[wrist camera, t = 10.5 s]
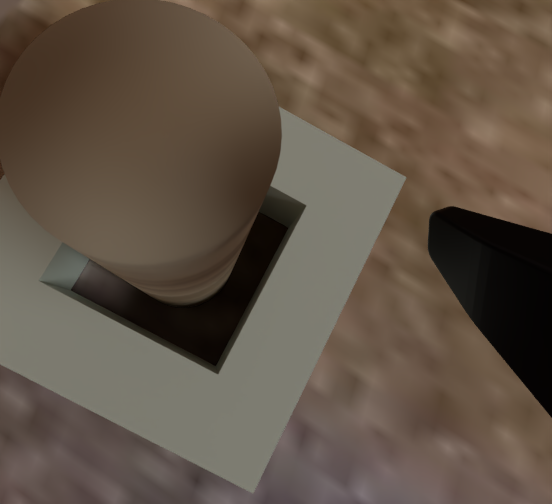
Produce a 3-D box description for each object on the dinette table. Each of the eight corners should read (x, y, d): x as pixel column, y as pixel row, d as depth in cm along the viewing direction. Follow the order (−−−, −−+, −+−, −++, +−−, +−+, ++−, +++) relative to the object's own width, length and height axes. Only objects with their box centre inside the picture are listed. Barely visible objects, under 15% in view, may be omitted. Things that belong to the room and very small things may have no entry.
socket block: (243, 461, 20) (253, 493, 16) (-33, 320, 20) (-92, 317, 16) (371, 203, 23) (406, 177, 19) (128, 70, 22) (111, 13, 18)
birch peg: (230, 309, 21) (278, 269, 7) (131, 306, 20) (-20, 258, 7) (234, 214, 22) (284, 13, 8) (137, 208, 21) (11, -17, 7)
